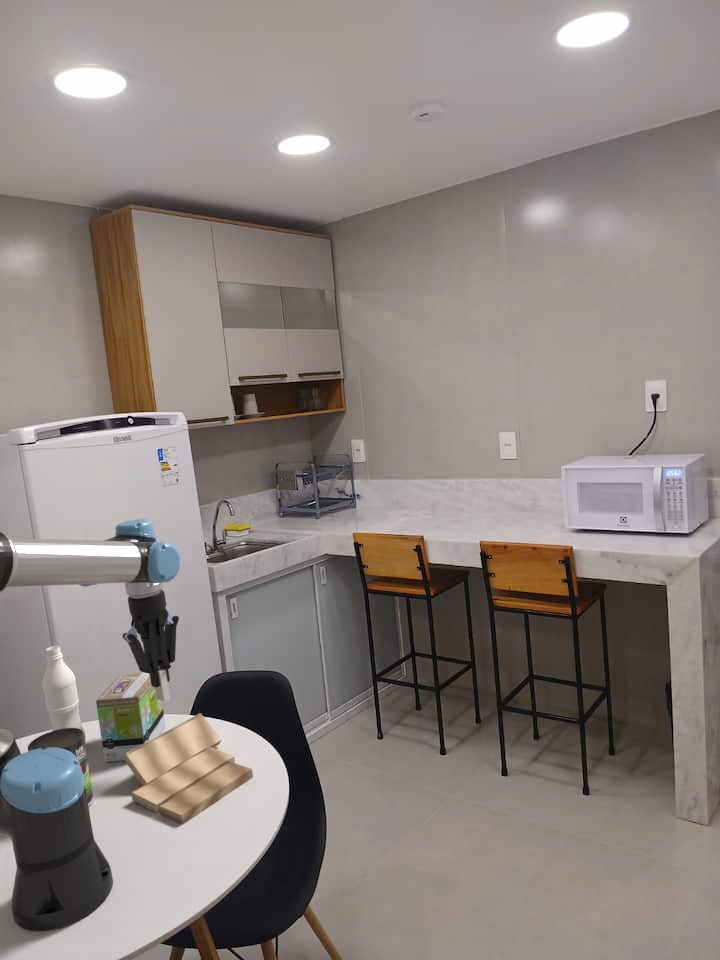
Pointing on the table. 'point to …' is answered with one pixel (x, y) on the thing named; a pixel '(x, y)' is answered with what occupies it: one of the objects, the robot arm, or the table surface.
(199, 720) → the plank
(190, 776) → the plank
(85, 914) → the robot arm
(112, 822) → the table surface
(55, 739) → the coffee can
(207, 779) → the laid board
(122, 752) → the tea box
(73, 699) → the water bottle
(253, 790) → the table surface
